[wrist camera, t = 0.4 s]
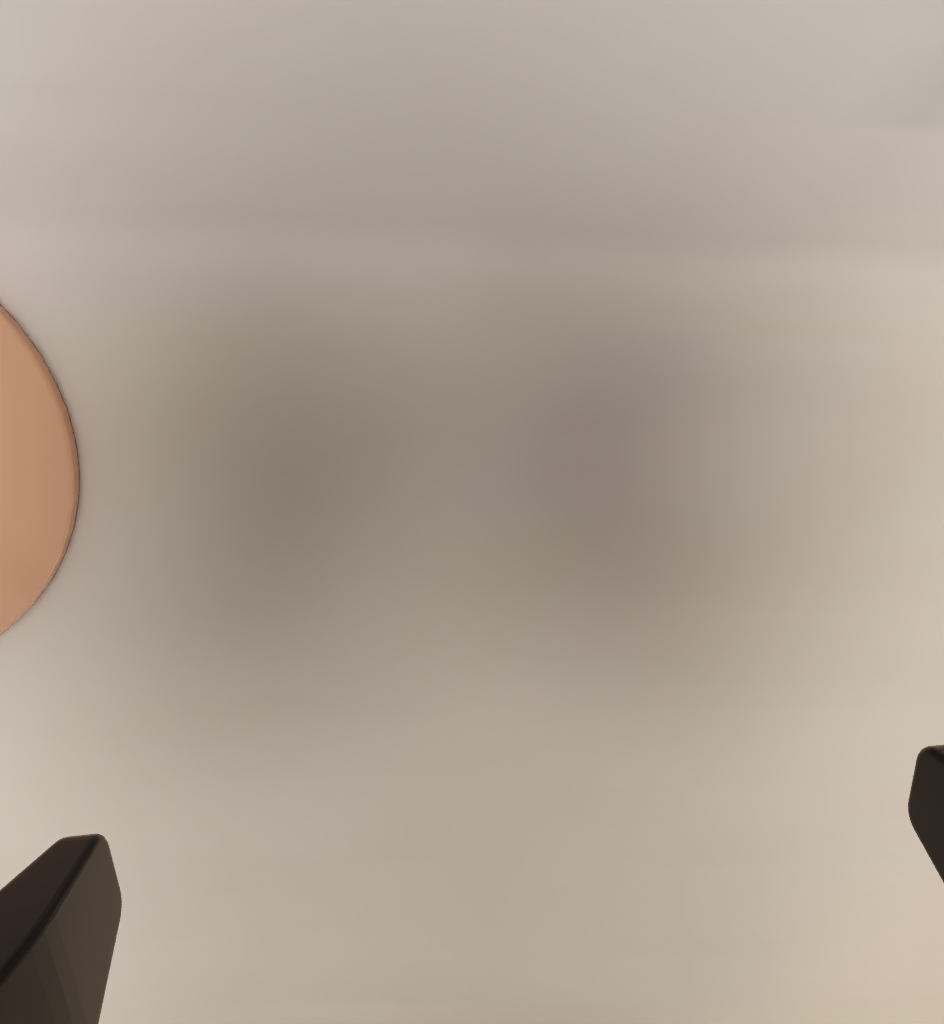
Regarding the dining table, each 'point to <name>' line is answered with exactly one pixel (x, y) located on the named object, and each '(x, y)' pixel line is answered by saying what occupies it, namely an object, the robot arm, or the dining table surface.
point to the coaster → (32, 473)
